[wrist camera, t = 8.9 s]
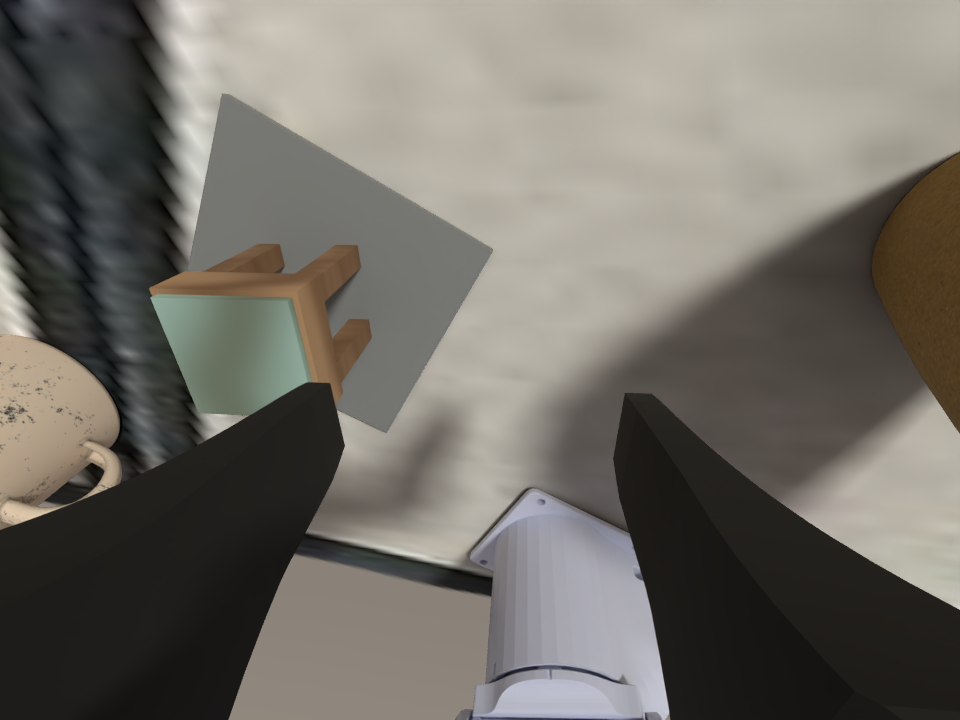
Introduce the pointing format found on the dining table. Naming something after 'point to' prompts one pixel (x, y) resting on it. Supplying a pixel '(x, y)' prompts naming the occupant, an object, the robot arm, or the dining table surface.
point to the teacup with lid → (49, 427)
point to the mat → (339, 221)
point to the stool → (259, 328)
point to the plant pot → (926, 280)
